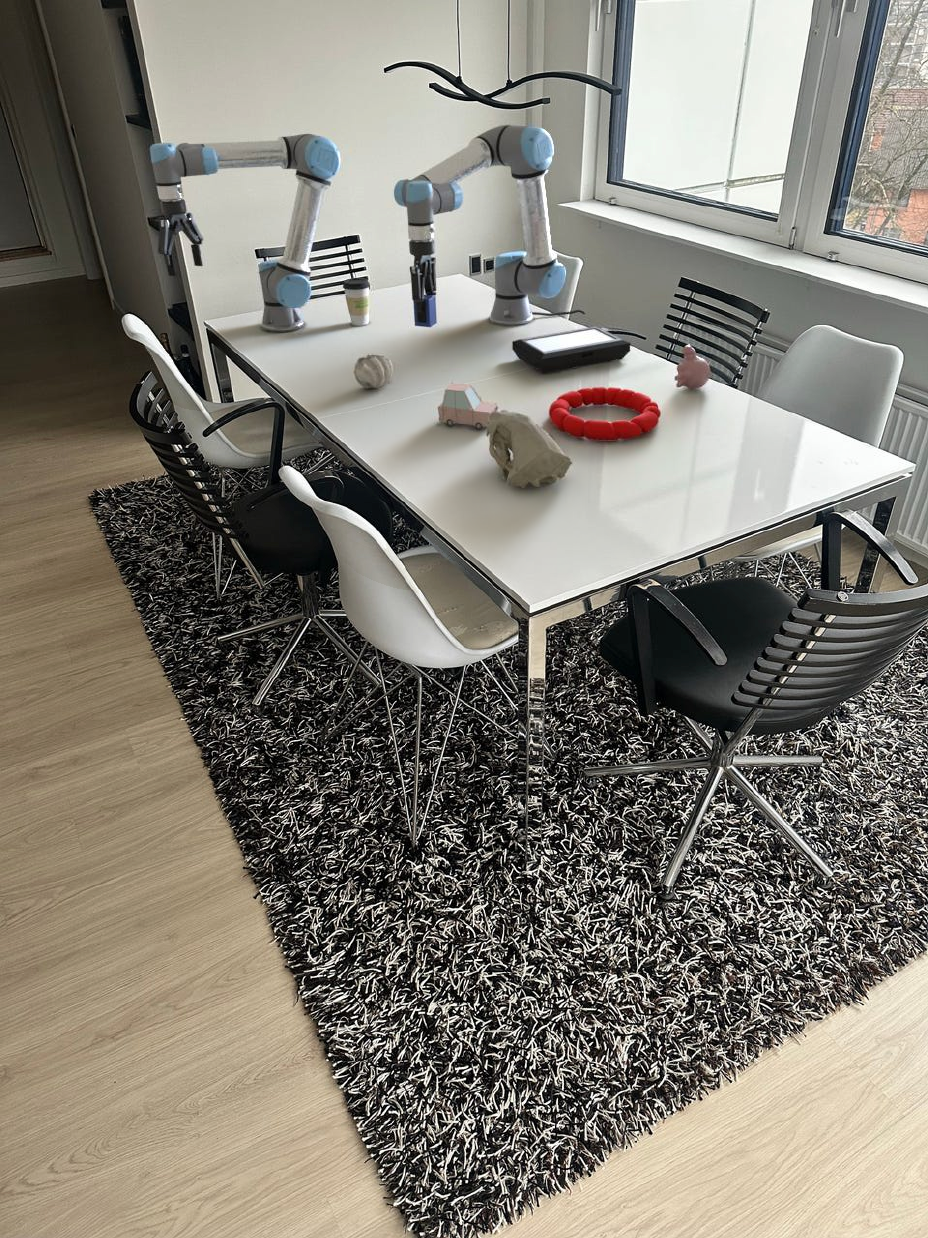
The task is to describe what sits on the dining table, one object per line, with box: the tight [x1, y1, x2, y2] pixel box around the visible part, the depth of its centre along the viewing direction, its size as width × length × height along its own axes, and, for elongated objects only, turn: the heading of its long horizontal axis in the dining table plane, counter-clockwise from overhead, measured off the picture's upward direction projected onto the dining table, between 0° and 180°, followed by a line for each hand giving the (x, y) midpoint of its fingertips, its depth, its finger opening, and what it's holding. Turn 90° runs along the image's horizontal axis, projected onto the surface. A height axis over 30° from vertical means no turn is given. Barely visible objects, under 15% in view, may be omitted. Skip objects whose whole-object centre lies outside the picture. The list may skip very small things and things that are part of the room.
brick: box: [412, 294, 438, 328], centre depth 274 cm, size 5×5×8 cm
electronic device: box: [511, 326, 631, 374], centre depth 286 cm, size 32×6×20 cm
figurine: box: [674, 344, 711, 390], centre depth 259 cm, size 9×11×12 cm
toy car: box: [437, 382, 499, 431], centre depth 243 cm, size 9×15×10 cm, turn 70°
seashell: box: [353, 354, 394, 389], centre depth 268 cm, size 10×15×10 cm
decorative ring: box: [548, 386, 661, 442], centre depth 242 cm, size 7×30×30 cm
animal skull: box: [485, 409, 573, 489], centre depth 216 cm, size 17×25×20 cm
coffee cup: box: [342, 277, 371, 327], centre depth 323 cm, size 10×10×15 cm
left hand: (186, 270), depth 289 cm, fingers open, 13 cm apart
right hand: (425, 319), depth 275 cm, fingers closed on brick, 5 cm apart
